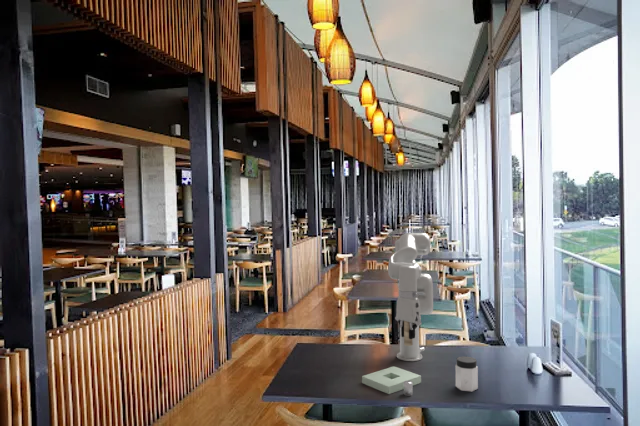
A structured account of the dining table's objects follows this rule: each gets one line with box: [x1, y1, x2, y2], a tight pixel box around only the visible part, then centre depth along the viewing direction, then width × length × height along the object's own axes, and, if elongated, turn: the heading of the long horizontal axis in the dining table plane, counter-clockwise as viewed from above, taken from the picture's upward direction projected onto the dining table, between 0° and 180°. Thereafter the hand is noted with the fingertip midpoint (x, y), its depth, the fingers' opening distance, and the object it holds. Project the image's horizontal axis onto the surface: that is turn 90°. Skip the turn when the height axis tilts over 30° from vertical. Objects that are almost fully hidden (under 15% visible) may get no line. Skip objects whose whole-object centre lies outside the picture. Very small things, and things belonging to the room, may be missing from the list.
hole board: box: [361, 365, 422, 395], centre depth 209 cm, size 20×16×3 cm
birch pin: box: [404, 321, 413, 346], centre depth 205 cm, size 4×4×12 cm
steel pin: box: [403, 381, 414, 397], centre depth 196 cm, size 4×4×5 cm
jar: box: [454, 355, 479, 392], centre depth 202 cm, size 9×8×12 cm
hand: (408, 336), depth 205 cm, fingers closed on birch pin, 3 cm apart
